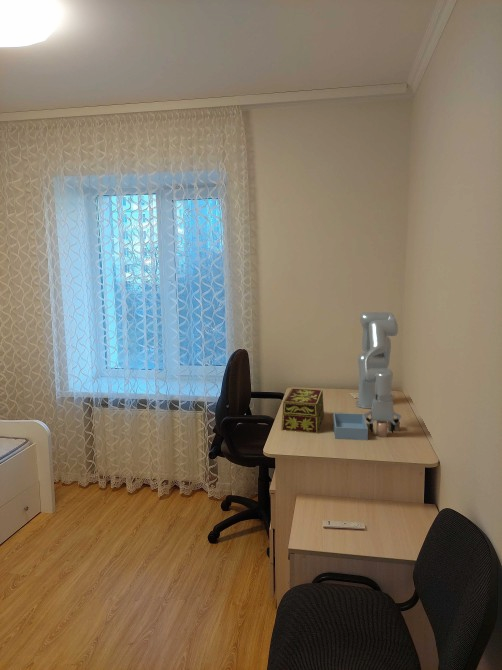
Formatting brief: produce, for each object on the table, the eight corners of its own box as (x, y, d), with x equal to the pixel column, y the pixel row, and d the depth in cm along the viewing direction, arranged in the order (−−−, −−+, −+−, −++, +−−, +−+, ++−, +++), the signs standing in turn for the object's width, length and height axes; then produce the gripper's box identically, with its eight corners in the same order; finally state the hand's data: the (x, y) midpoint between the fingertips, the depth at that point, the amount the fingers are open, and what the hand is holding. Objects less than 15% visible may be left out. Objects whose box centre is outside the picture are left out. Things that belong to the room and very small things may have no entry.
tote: (333, 423, 239) (333, 412, 238) (362, 424, 237) (363, 414, 236) (334, 438, 218) (335, 427, 217) (367, 440, 216) (367, 428, 215)
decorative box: (290, 413, 256) (290, 387, 253) (324, 415, 251) (324, 389, 248) (281, 430, 229) (281, 402, 227) (318, 434, 225) (318, 404, 222)
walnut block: (387, 427, 232) (387, 418, 231) (397, 428, 231) (397, 418, 230) (389, 431, 227) (389, 421, 226) (399, 431, 226) (399, 422, 226)
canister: (375, 433, 224) (376, 419, 223) (386, 433, 223) (386, 420, 222) (377, 437, 219) (377, 423, 218) (387, 437, 219) (388, 423, 217)
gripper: (400, 395, 221) (398, 429, 223) (363, 394, 223) (362, 428, 226) (403, 400, 213) (401, 435, 216) (365, 399, 216) (364, 433, 218)
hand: (381, 431), depth 221 cm, fingers open, 9 cm apart
